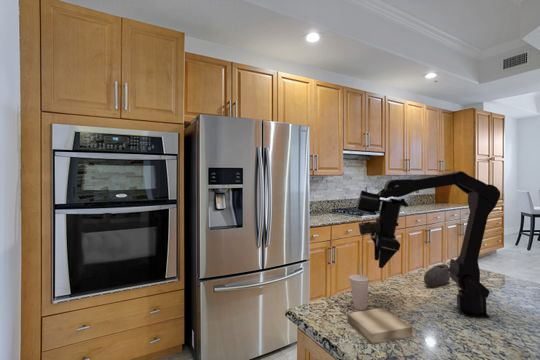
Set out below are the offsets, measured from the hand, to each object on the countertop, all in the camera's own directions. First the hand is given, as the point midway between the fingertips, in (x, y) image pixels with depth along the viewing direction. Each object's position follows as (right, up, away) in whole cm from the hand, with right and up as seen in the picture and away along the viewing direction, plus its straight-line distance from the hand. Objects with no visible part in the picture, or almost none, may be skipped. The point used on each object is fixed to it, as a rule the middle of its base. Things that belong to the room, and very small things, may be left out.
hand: (378, 263), depth 93 cm
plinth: (-6, -14, -14) cm, 21 cm away
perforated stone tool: (+30, -14, +18) cm, 38 cm away
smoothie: (-6, -14, -1) cm, 15 cm away
